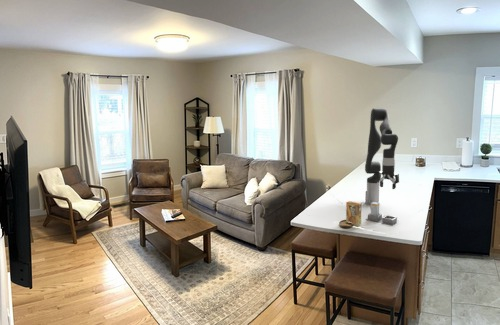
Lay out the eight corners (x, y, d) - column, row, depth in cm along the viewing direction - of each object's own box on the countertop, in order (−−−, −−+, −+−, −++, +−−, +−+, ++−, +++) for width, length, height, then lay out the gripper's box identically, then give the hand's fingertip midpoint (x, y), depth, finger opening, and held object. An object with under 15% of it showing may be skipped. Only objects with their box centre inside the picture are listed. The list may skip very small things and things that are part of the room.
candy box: (361, 225, 225) (361, 202, 222) (358, 227, 222) (359, 204, 219) (348, 222, 230) (348, 200, 228) (345, 224, 227) (346, 202, 225)
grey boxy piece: (365, 221, 232) (365, 215, 231) (372, 216, 241) (372, 211, 240) (392, 227, 220) (392, 221, 219) (399, 222, 228) (399, 216, 228)
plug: (370, 218, 233) (370, 203, 231) (373, 217, 236) (373, 201, 234) (376, 220, 230) (376, 204, 229) (378, 218, 233) (379, 202, 232)
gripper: (375, 163, 231) (374, 187, 234) (395, 166, 220) (394, 190, 223) (381, 162, 236) (380, 185, 238) (401, 164, 225) (400, 188, 227)
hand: (387, 188), depth 231 cm, fingers open, 8 cm apart
